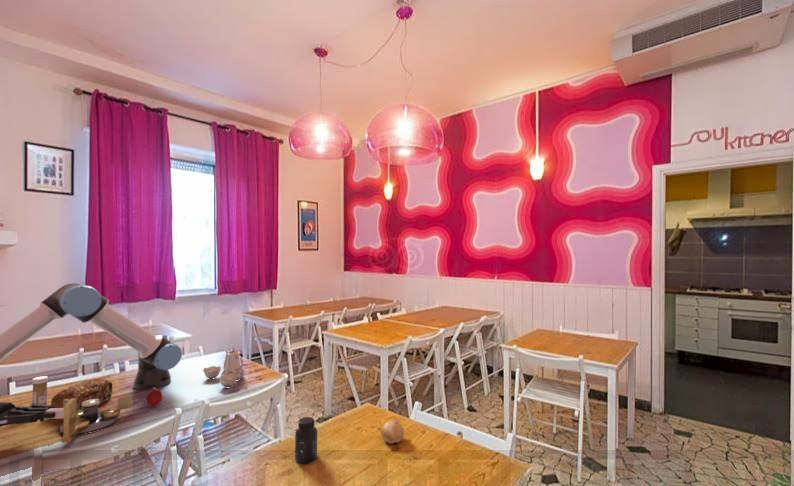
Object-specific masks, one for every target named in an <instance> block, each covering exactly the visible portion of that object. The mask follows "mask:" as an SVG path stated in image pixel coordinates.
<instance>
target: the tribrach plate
mask: <svg viewBox="0 0 794 486" xmlns="http://www.w3.org/2000/svg"><path fill="white" fill-rule="evenodd" d="M132 396H133V395H132V394H128V395H123V396H117V407H111V408H107V409H104V410H99V405H98V404H99V403H100V399H90V400H86V401H84V402H82V407H83V410H79V411H76V420H78V419H89V420H90V421H89V426H88V427H87V428H84V429H82V430H79V431H78V432H77V434H76V435H77V436H82V435H81V434H84V435H86V434H85V433H89V432H93V433H95V432H94V431H97V430H100V431H102V430H101V429H103V430H105V429H107V427H108V428H110V427H111V426H113V425H115V424H116V423H117V422H118V421H119V419H120V416H121V411H122V410H126V409H132V405H133V404H132V403H133V401H132V400H133V397H132ZM69 400H70V399H64V400H63V408H64V405H65V404H66V403H67V402H68V401H69ZM104 428H105V429H104ZM63 430H64V422H63V423H62V424H60V427H59V433H60V434H61V435H63ZM97 432H98V431H97ZM89 434H90V433H89Z"/></svg>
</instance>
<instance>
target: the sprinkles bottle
mask: <svg viewBox="0 0 794 486" xmlns="http://www.w3.org/2000/svg"><path fill="white" fill-rule="evenodd" d="M48 381H49V377H48V376H47V375H44V376H43V375H42V376H37V377H33V378H32V381H31V384H32V393H31V396H32V398H31V399H32V401H31V403H36V404H43V405H48Z"/></svg>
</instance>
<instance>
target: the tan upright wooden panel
mask: <svg viewBox="0 0 794 486" xmlns="http://www.w3.org/2000/svg"><path fill="white" fill-rule="evenodd" d="M89 421H90V420H89V419H78V420H76V398H71V399H70V400H69V401H68V402H67V403H66V404H65V405H64V418H63V423H64V430H63V436H62V438H61V442H62V444H64V443H70V442H72V440H73V438H74V437H75V435H76V434H77V432H78V431H79V430H82V429H84V428H87V427H88V426H89Z"/></svg>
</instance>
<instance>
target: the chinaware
mask: <svg viewBox="0 0 794 486" xmlns="http://www.w3.org/2000/svg"><path fill="white" fill-rule="evenodd" d="M240 354H241V351H238V350H237V349H236V348H235V347H232V348H231V350H230V351H228V350H225V359H224V361H223V362H224V363H223V370H222V366H220V365H219V366H215V365H211V366H209V367H204V368H203V370H202V371H203V373H204V376H205V377H206V378H207V379H213V378H217V377H218V376H219V377H218V378H217V379H218V380H219V382H220V384H221V386H223V387H231V388H230V389H232V388H235V387H237V382H236V380H239V379H241V378H242V379H243V377H245V375H246V373H245V371H244V369H243V367H244V360H243V357H242V356H241V355H240ZM240 361H241V363H240ZM221 370H222V372H221ZM220 372H221V374H220Z"/></svg>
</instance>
